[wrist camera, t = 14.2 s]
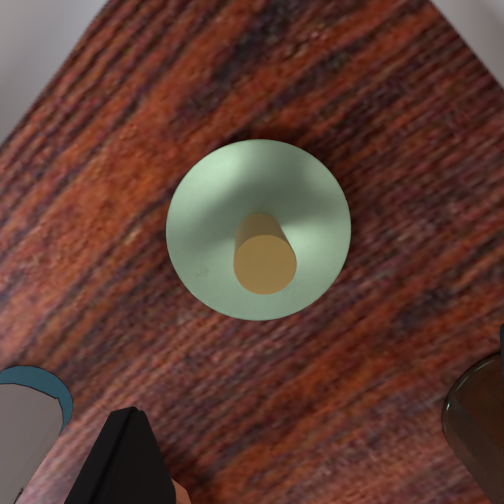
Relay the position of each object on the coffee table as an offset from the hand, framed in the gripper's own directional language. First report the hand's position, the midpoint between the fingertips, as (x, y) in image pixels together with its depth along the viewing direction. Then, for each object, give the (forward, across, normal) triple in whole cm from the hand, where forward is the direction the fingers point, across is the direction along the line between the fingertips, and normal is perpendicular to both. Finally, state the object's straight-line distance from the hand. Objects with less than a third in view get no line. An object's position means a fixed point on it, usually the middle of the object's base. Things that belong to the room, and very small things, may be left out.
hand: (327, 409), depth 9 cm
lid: (+16, +1, -1) cm, 16 cm away
